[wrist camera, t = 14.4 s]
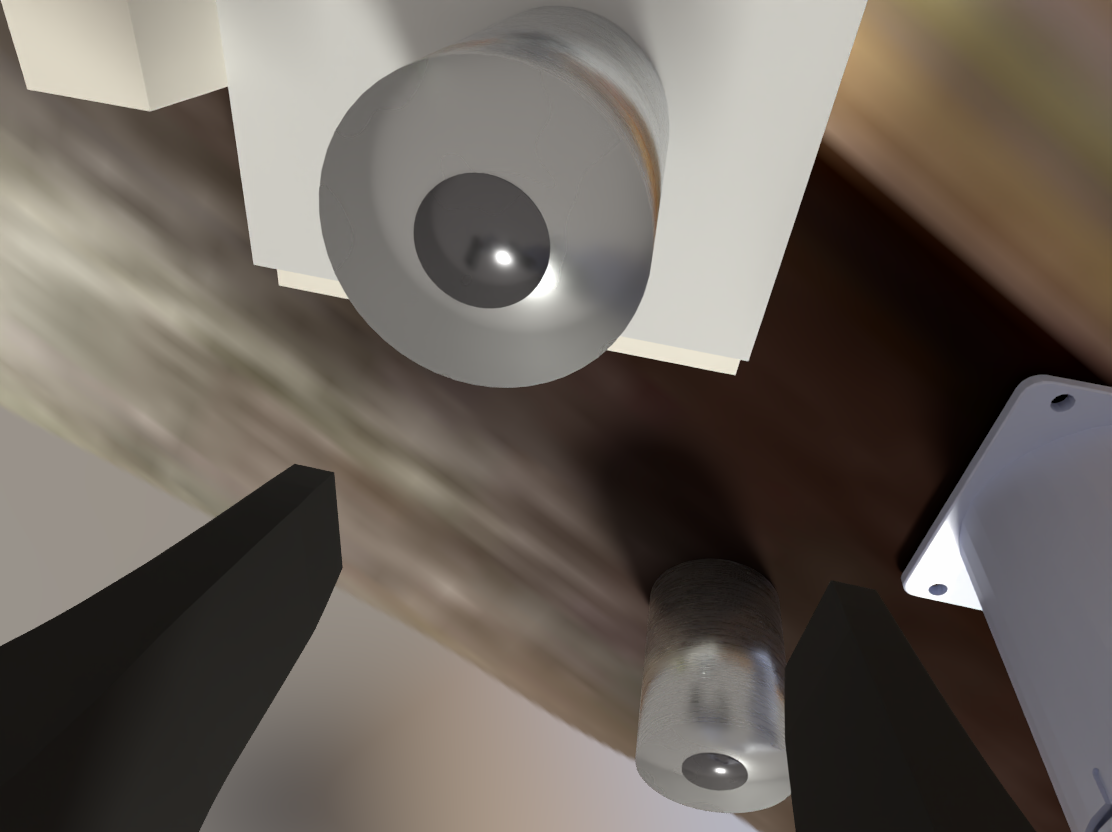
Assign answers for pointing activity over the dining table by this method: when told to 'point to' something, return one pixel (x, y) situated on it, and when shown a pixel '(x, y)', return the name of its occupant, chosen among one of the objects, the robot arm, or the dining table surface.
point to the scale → (440, 20)
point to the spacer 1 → (502, 198)
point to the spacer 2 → (714, 689)
